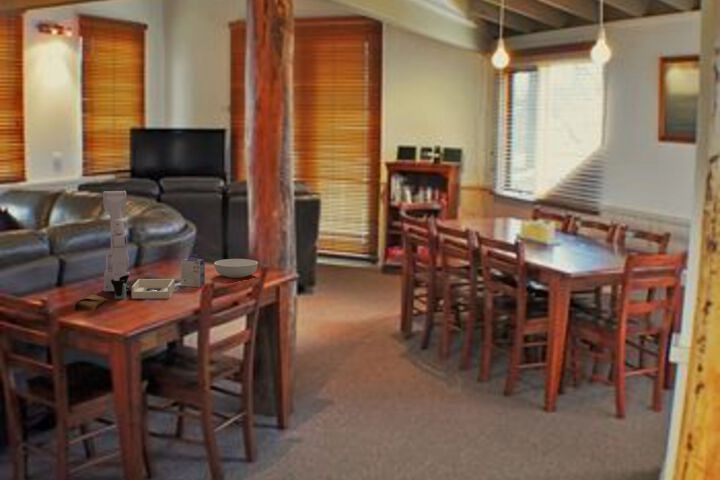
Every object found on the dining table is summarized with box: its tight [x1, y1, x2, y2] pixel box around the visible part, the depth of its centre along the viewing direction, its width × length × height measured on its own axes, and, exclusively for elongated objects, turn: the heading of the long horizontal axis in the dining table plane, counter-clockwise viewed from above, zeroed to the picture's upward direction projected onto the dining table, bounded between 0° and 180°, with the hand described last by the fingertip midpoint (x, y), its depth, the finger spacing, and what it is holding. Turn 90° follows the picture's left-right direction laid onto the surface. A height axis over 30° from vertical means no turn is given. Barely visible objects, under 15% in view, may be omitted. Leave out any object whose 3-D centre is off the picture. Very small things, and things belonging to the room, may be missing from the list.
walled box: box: [131, 278, 176, 299], centre depth 379 cm, size 16×16×5 cm
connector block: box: [114, 283, 127, 300], centre depth 372 cm, size 4×4×6 cm
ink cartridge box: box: [180, 253, 206, 288], centre depth 396 cm, size 10×6×14 cm, turn 78°
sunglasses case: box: [74, 292, 109, 311], centre depth 358 cm, size 18×7×7 cm
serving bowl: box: [213, 258, 259, 279], centre depth 418 cm, size 21×21×7 cm
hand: (120, 293), depth 372 cm, fingers open, 7 cm apart
